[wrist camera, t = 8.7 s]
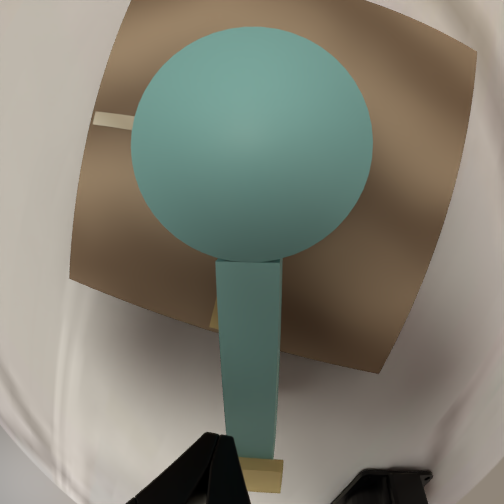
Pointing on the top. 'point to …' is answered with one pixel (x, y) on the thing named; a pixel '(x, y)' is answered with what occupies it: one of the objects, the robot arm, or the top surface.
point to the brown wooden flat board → (351, 228)
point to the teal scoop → (251, 192)
